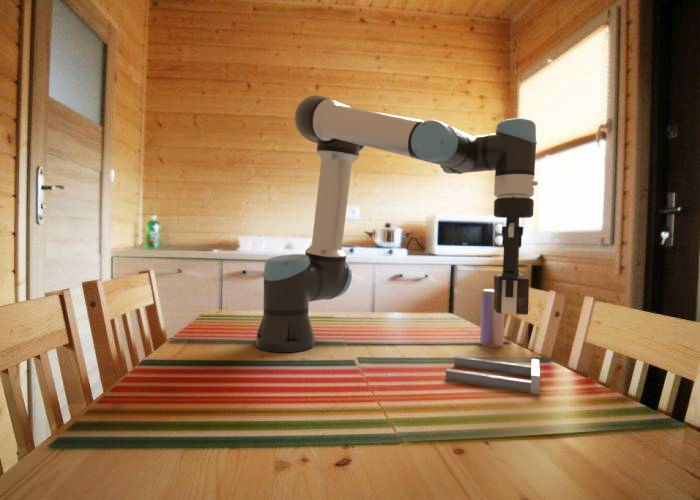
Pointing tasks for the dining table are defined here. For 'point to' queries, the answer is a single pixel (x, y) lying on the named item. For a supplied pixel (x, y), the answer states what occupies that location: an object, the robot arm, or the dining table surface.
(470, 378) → the channel
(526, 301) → the box
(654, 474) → the dining table surface
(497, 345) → the beverage can
